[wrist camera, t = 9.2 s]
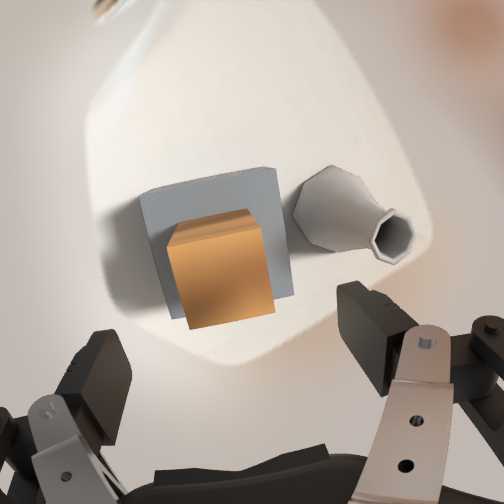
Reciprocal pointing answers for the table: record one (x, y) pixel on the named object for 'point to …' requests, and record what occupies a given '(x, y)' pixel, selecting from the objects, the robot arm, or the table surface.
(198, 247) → the orange block
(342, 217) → the flask
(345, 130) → the table surface
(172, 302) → the pedestal
